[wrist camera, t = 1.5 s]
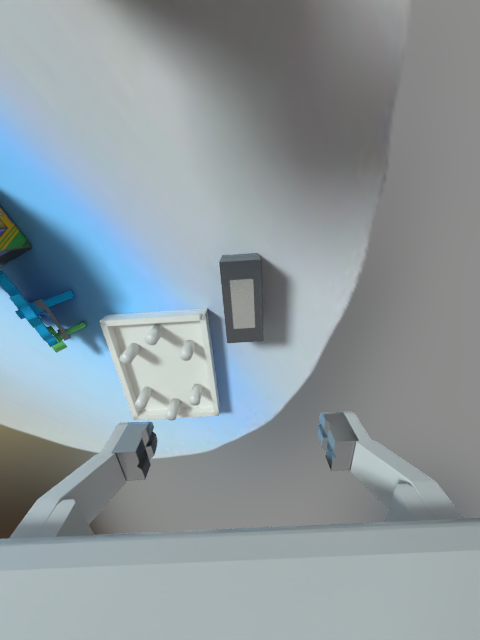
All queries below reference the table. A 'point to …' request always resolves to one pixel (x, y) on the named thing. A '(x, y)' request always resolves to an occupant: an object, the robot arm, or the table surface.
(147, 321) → the holder tray
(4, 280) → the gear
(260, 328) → the block
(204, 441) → the table surface
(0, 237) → the chalk box
